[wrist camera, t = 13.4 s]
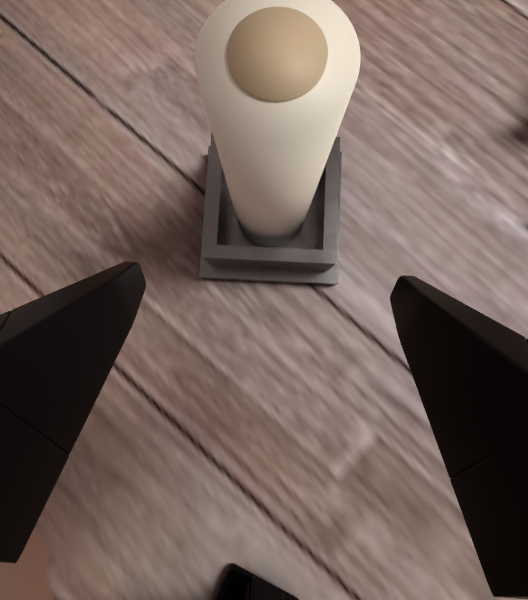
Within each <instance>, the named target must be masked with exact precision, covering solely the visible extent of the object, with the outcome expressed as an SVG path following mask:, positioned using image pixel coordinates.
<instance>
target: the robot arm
mask: <svg viewBox="0 0 528 600" xmlns="http://www.w3.org/2000/svg"><path fill="white" fill-rule="evenodd" d="M145 288H146V282H145V278H144V275H143V273H142V270H141V267H140V265H139V263H137V262H127V261H126V262H123V263H120V264H118V265H116V266H113V267H111V268H109V269H106V270H104V271H102V272H99V273H97V274H95V275H92V276H90V277H88V278H85V279H83V280H81V281H78V282H76V283H74V284H71V285H69V286H67V287H64V288H62V289H60V290H57V291H55V292H53V293H50V294H48V295H46V296H43V297H41V298H39V299H36V300H34V301H32V302H29V303H27V304H25V305H22V306H20V307H18V308H15V309H13V310H12V311H8V312H6V313H3V314H1V315H0V562H4V563H16V562H17V560H18V559H19V557H20V555H21V553H22V551H23V550H24V548H25V546H26V543H27V541H28V539H29V537H30V535H31V533H32V531H33V529H34V527H35V525H36V523H37V521H38V519H39V517H40V515H41V513H42V511H43V509H44V506H45V504H46V502H47V500H48V498H49V496H50V494H51V492H52V490H53V488H54V486H55V484H56V482H57V480H58V478H59V476H60V474H61V472H62V470H63V467H64V465H65V463H66V461H67V459H68V457H69V454H70V453H71V451H72V449H73V446H74V444H75V442H76V440H77V438H78V436H79V434H80V432H81V430H82V428H83V426H84V424H85V422H86V420H87V418H88V416H89V414H90V411H91V409H92V407H93V405H94V403H95V401H96V399H97V397H98V395H99V393H100V391H101V389H102V387H103V385H104V383H105V381H106V379H107V376H108V374H109V372H110V370H111V368H112V366H113V364H114V362H115V360H116V358H117V356H118V354H119V352H120V350H121V348H122V346H123V344H124V341H125V339H126V337H127V335H128V333H129V331H130V329H131V327H132V325H133V322H134V320H135V317H136V314H137V311H138V308H139V306H140V303H141V300H142V297H143V294H144V291H145ZM390 302H391V306H392V310H393V315H394V319H395V324H396V328H397V332H398V336H399V339H400V342H401V345H402V348H403V351H404V353H405V356H406V359H407V362H408V364H409V367H410V370H411V373H412V375H413V378H414V381H415V384H416V386H417V389H418V392H419V395H420V397H421V400H422V403H423V406H424V408H425V411H426V414H427V417H428V419H429V422H430V425H431V428H432V430H433V433H434V436H435V439H436V441H437V444H438V447H439V450H440V452H441V455H442V458H443V461H444V464H445V466H446V469H447V472H448V475H449V477H450V478H451V479H450V481H451V483H452V486H453V489H454V492H455V494H456V497H457V500H458V503H459V505H460V508H461V511H462V514H463V516H464V519H465V522H466V525H467V527H468V530H469V533H470V536H471V538H472V541H473V544H474V547H475V549H476V552H477V555H478V558H479V560H480V563H481V566H482V569H483V571H484V574H485V577H486V580H487V582H488V585H489V587H490V590H491V592H492V594H493V596H494V597H504V598H518V599H528V339H526V338H525V337H524V336H522V335H520V334H518V333H516V332H515V331H513V330H511V329H509V328H507V327H505V326H504V325H502V324H500V323H498V322H496V321H495V320H493V319H491V318H489V317H487V316H485V315H484V314H482V313H480V312H478V311H476V310H475V309H473V308H471V307H469V306H467V305H466V304H464V303H462V302H460V301H458V300H456V299H455V298H453V297H451V296H449V295H447V294H446V293H444V292H442V291H440V290H438V289H436V288H435V287H433V286H431V285H429V284H427V283H426V282H424V281H422V280H420V279H418V278H417V277H415V276H400V277H399V278H398V280H397V282H396V284H395V287H394V289H393V291H392V293H391V296H390ZM231 573H235V574H231ZM214 600H299V599H297V598H296V597H294V596H292V595H290V594H288V593H287V592H285V591H283V590H281V589H279V588H277V587H276V586H274V585H272V584H270V583H268V582H266V581H265V580H263V579H261V578H259V577H257V576H255V575H253V574H252V573H250V572H248V571H246V570H244V569H242V568H241V567H239V566H237V565H230V566H229V568H228V569H227V572H226V574H225V576H224V578H223V580H222V582H221V585H220V587H219V589H218V591H217V593H216V595H215V597H214Z"/></svg>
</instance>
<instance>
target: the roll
mask: <svg viewBox="0 0 528 600" xmlns="http://www.w3.org/2000/svg"><path fill="white" fill-rule="evenodd" d="M194 65H195V72H196V77H197V81H198V84H199V88H200V91H201V95H202V98H203V102H204V105H205V109H206V112H207V116H208V119H209V123H210V126H211V130H212V133H213V137H214V140H215V144H216V147H217V151H218V154H219V158H220V161H221V165H222V168H223V172H224V175H225V179H226V182H227V186H228V189H229V193H230V196H231V200H232V203H233V207H234V210H235V214H236V217H237V221H238V224H239V227H240V229H241V230H242V232H243V233H244V235H245V236H246V237H247V238H248V239H250V240H251V241H253V242H254V243H256V244H259V245H262V246H267V247H274V246H280V245H283V244H285V243H287V242H289V241H291V240H292V239H293V238H294V237H295V236H296V235H297V234H298V233H299V231H300V230H301V228H302V226H303V223H304V221H305V218H306V215H307V213H308V210H309V207H310V205H311V202H312V199H313V197H314V194H315V191H316V189H317V186H318V183H319V180H320V178H321V175H322V172H323V170H324V167H325V164H326V162H327V159H328V156H329V154H330V151H331V148H332V146H333V143H334V140H335V138H336V135H337V132H338V130H339V127H340V124H341V121H342V119H343V116H344V113H345V111H346V108H347V105H348V103H349V100H350V97H351V95H352V92H353V89H354V87H355V84H356V81H357V78H358V74H359V69H360V47H359V42H358V38H357V35H356V32H355V30H354V28H353V26H352V24H351V22H350V21H349V19H348V17H347V16H346V15H345V14H344V12H343V11H342V10H341V9H340V8H339V7H338V6H337V5H336V4H335V3H334V2H332V1H331V0H224V1H223V2H222V3H221V4H220V5H218V6H217V7H216V8H215V9H214V11H213V12H212V13H211V14H210V15H209V17H208V18H207V19H206V21H205V22H204V24H203V26H202V28H201V30H200V32H199V35H198V38H197V41H196V46H195V53H194Z"/></svg>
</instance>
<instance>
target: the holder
mask: <svg viewBox="0 0 528 600" xmlns="http://www.w3.org/2000/svg"><path fill="white" fill-rule="evenodd" d="M341 155H342V152H340V137H336V138H335V140H334V143H333V146H332V148H331V151H330V154H329V156H328V159H327V162H326V164H325V167H324V170H323V172H322V175H321V178H320V180H319V183H318V186H317V189H316V191H315V194H314V197H313V199H312V202H311V205H310V207H309V210H308V213H307V215H306V218H305V221H304V223H303V226H302V228H301V230H300V231H299V233H298V234H297V235H296V236H295V237H294V238H293V239H292V240H291V241H289V242H287V243H285V244H283V245H280V246H274V247H267V246H262V245H259V244H256V243H254V242H253V241H251V240H250V239H248V238H247V237H246V236H245V235H244V233H243V232H242V230H241V229H240V227H239V224H238V221H237V217H236V214H235V210H234V207H233V203H232V200H231V196H230V193H229V189H228V186H227V182H226V179H225V175H224V172H223V168H222V165H221V161H220V158H219V154H218V151H217V147H216V144H215V140H214V137H213V133H212V134H211V146H209V150H208V163H207V177H206V190H205V203H204V217H203V230H202V244H201V257H200V270H199V277H200V278H202V279H218V280H238V281H258V282H278V283H298V284H318V285H336V284H338V260H339V225H340V190H341Z"/></svg>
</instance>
